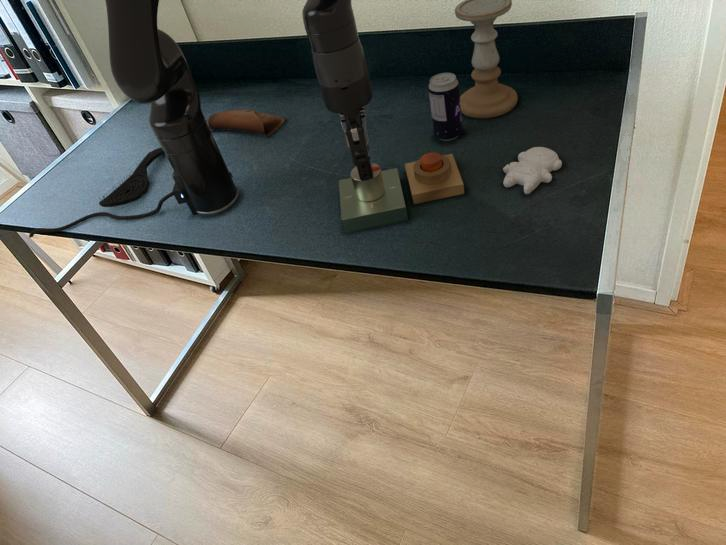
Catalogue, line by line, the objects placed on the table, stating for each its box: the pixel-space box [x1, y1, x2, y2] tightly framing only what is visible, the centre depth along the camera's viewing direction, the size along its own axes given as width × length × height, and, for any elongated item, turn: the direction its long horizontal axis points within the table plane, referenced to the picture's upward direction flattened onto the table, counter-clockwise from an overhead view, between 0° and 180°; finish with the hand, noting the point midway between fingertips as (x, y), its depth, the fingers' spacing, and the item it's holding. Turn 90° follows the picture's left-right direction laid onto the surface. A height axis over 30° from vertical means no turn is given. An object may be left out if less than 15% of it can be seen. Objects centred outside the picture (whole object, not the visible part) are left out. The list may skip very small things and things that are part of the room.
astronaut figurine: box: [502, 146, 563, 195], centre depth 92 cm, size 9×12×3 cm
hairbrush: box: [98, 146, 165, 208], centre depth 119 cm, size 8×4×25 cm
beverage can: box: [427, 72, 464, 142], centre depth 103 cm, size 6×6×12 cm
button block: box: [404, 153, 465, 205], centre depth 96 cm, size 9×10×4 cm
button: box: [420, 151, 442, 172], centre depth 94 cm, size 4×4×2 cm
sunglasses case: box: [207, 109, 286, 137], centre depth 127 cm, size 18×7×7 cm
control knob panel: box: [338, 167, 409, 234], centre depth 95 cm, size 11×12×3 cm
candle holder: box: [454, 0, 519, 119], centre depth 106 cm, size 12×12×20 cm
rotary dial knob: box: [349, 162, 385, 202], centre depth 92 cm, size 5×5×5 cm
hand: (365, 164), depth 90 cm, fingers open, 8 cm apart
